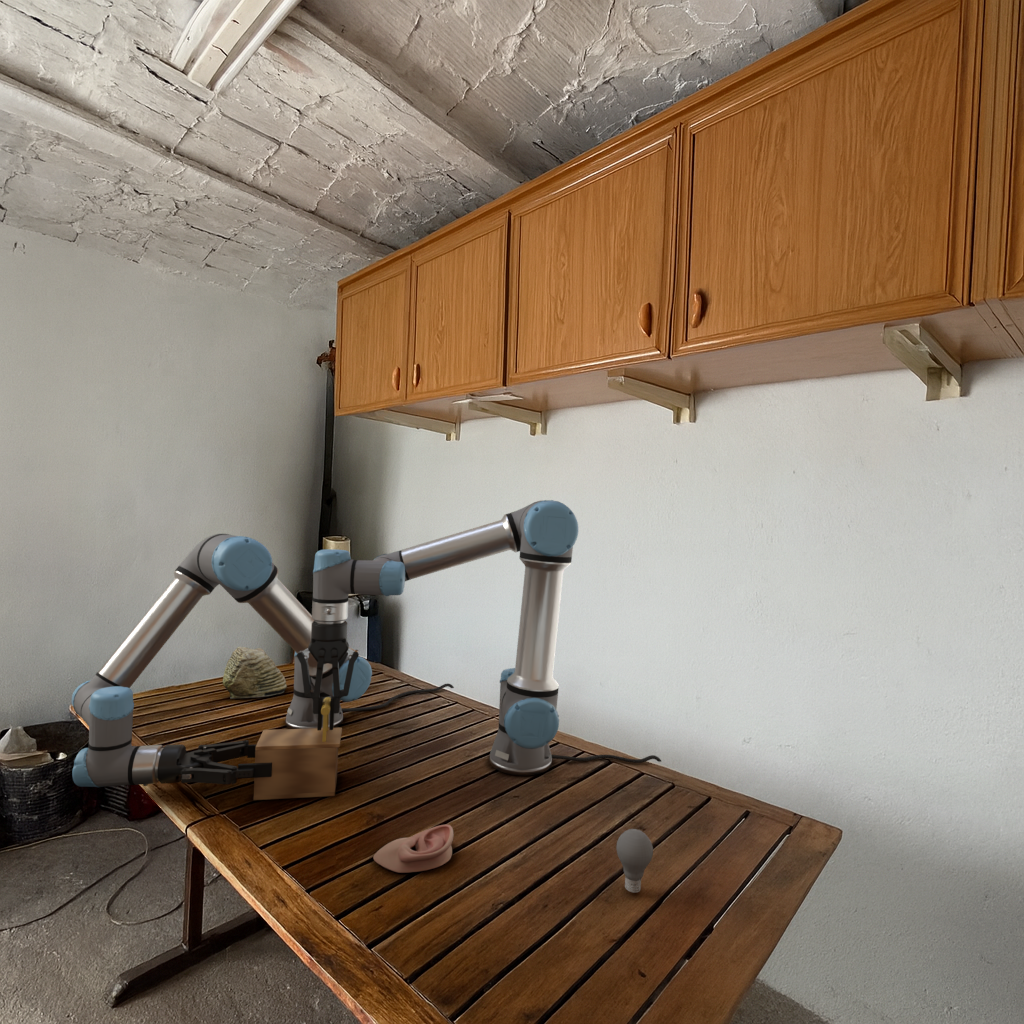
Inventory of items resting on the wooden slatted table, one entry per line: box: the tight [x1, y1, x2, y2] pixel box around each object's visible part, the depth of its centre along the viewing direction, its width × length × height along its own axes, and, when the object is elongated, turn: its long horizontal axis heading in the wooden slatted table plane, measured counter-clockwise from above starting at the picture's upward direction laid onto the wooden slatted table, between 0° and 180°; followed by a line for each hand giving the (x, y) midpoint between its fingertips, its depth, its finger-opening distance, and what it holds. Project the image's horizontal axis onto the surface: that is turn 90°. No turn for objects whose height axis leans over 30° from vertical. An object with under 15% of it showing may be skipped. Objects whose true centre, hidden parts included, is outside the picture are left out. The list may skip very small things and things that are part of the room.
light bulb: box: [615, 828, 654, 894], centre depth 106 cm, size 6×6×10 cm
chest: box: [253, 747, 339, 801], centre depth 137 cm, size 16×10×10 cm, turn 102°
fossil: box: [222, 646, 288, 699], centre depth 198 cm, size 9×18×15 cm, turn 132°
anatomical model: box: [372, 824, 455, 874], centre depth 113 cm, size 13×4×12 cm
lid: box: [256, 697, 343, 750], centre depth 137 cm, size 17×10×8 cm, turn 102°
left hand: (275, 759), depth 136 cm, fingers closed on chest, 10 cm apart
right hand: (325, 727), depth 138 cm, fingers closed on lid, 2 cm apart
